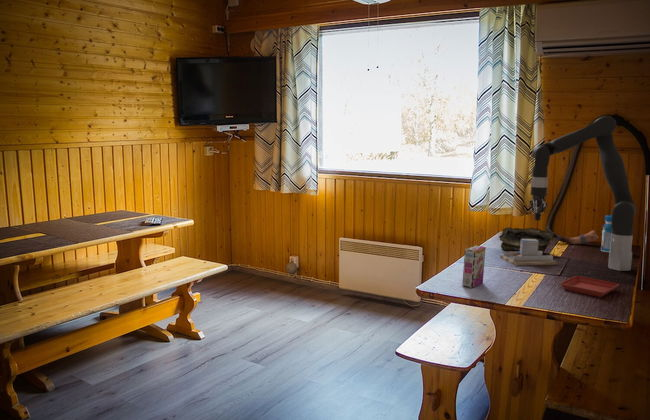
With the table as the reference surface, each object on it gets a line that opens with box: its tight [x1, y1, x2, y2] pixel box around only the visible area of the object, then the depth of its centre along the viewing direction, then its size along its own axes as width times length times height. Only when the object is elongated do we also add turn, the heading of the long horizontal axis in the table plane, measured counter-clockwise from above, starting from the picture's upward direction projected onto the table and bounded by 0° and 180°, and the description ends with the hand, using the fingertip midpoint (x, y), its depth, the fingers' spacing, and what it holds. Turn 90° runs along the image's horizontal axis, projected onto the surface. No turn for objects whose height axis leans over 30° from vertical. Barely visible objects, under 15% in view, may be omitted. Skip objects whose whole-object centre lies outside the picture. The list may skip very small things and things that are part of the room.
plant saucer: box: [560, 275, 620, 298], centre depth 237 cm, size 18×18×3 cm
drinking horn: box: [545, 225, 599, 245], centre depth 327 cm, size 6×29×10 cm, turn 78°
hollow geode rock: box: [498, 226, 555, 254], centre depth 306 cm, size 28×13×15 cm
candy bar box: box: [461, 245, 486, 289], centre depth 240 cm, size 11×5×16 cm, turn 141°
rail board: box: [499, 254, 557, 267], centre depth 284 cm, size 16×22×2 cm
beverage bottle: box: [600, 214, 612, 253], centre depth 309 cm, size 8×8×20 cm
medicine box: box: [519, 239, 539, 256], centre depth 283 cm, size 8×4×9 cm, turn 85°
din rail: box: [503, 250, 554, 261], centre depth 284 cm, size 11×21×2 cm, turn 99°
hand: (537, 220), depth 280 cm, fingers closed
